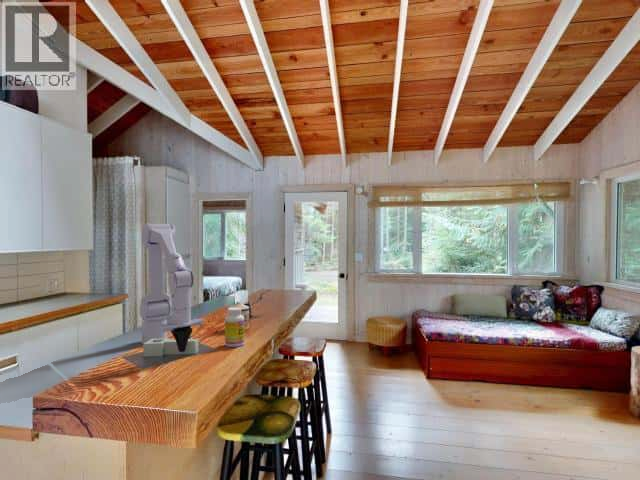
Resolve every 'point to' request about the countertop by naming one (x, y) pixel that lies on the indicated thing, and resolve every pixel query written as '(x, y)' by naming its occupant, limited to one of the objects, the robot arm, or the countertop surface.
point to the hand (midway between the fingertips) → (181, 351)
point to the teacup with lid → (243, 313)
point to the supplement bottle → (234, 328)
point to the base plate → (162, 357)
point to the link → (168, 347)
